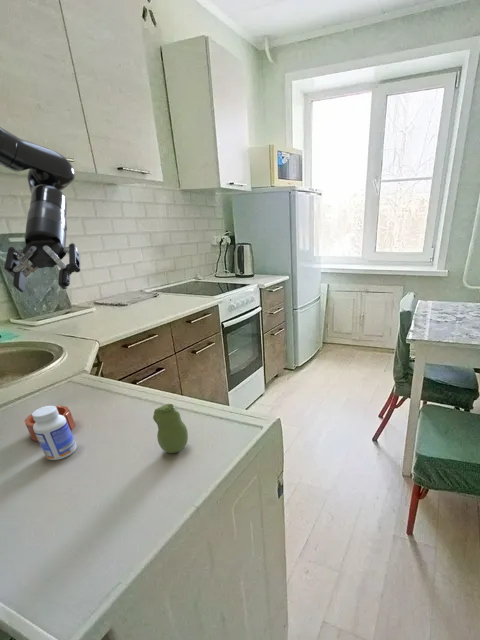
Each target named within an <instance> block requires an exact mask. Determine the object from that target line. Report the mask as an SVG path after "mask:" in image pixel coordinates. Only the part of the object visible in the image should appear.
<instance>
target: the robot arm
mask: <svg viewBox="0 0 480 640" xmlns="http://www.w3.org/2000/svg"><path fill="white" fill-rule="evenodd" d="M0 166H2V167H4V168H6V169H8V170H10V171H12V172H16V173H21V172H24V171H27V170H28V172H27V175H26V177H27V179H26V180H27V183H28V188H29V192H30V200H29V201H30V202H29V209H28V211H27V214H26V215H27V216H26V223H25V224H26V225H25V233H24V241H25V246H24V247H23V248H22V249H15V247H13V246H10V247H9V248H8V249H7V254H6V258H5V263H4V268H3V269H4V270H5V271H6V272H7V273H8V274H10V276H11V277H12V278H13V282H12V285H13V287H14V288H15V289H16V290H17V291H18V292H20V293H25V292H26V286H27V277H28V276H29V275H30V274H31V273H35V272H36V271H37V270H38V269H45V268H55V266H57V267H58V268H59V270H58V281H57V282H58V285H59V287H60V288H61V289H62V290H68V287H69V286H70V284H71V275H72V274H73V273H79V272H81V251H80V250H79V249H78V247H77V246H76V244H75V243H73V242H72V243H69V244H68V246H66V243H67V231H68V224H67V211H68V203H67V197H66V196H65V194H64V193H63V190H65V189H66V188H67V187H68V186H70V185H71V184H72V183H73V182H74V180H75V178H76V171H75V168H74V165H72V163H71V162H70V161H69V160H68V159H67V158H66V157H65V156H64V155H62V154H61V153H59V152H58V151H56V150H53V149H51V148H49V147H45V146H43V145H40V144H37V143H34V142H32V141H29V140H25V139H22V138H19V137H18V136H17V135H15V134H13V133H12V132H10V131H8V130H6V129H5V128H3V127H1V126H0ZM66 255H68V263H67V264H66V263H65V262H64V261H63V259H64V258H65V257H66ZM29 262H30V263H31V264H29Z"/></svg>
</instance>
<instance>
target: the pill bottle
mask: <svg viewBox="0 0 480 640" xmlns="http://www.w3.org/2000/svg"><path fill="white" fill-rule="evenodd" d="M55 406H56V405H45V406H42V407H39V408H37V409H35V410H34V411H33V412H32V413H31V414H32V417H33V419H34V421H35V422H36V423H35V424H34V426H33V429H34V432H35V434H36V436H37V439H38V441H39V442H38V441H37V442H38V443H39V445H40V448H41V450H42V452H43V454H44V456H45V458H46V459H47V460H50V461H58V460H59V461H60V460H63V459H66V458H67V457H69V456H71V455H73V454H74V453H75V451H76V450H77V447H78V446H77V443H76V440H75V438H74V437H73V433H72V430H71V431H70V428H69V426H68V423H67V421H66V418H65V417H64V416H62V415H59V413H58V410H57V408H56V407H55Z"/></svg>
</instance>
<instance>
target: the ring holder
mask: <svg viewBox="0 0 480 640" xmlns="http://www.w3.org/2000/svg"><path fill="white" fill-rule="evenodd" d="M54 406H55V407H56V408H57V410H58V413H59V415H62V416H64V417H65V418H66V421H67V423H68V426H69V428H70V431H71V432H72V431H73V430H74V428H75V427H76V423H75V421H74V418H73V415H72V413H71V410H70V408H69V407H68V406H65V405H54ZM35 423H36V422H35V421H34V419H33V417H32V413H31V414H29V415H28V416H27V417H26V418H25V419H24V424H25V426H26V428H27V431H28V433H29V435H30V437H31V439H32V441H34V442H38V443H39V441H38V439H37V436H36V434H35V432H34V429H33V426H34V424H35Z"/></svg>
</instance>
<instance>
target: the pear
mask: <svg viewBox="0 0 480 640" xmlns="http://www.w3.org/2000/svg"><path fill="white" fill-rule="evenodd" d="M152 419H153V421H154V423H156V427H157V437H156V439H157V442H158V445H159V447H160V448H161V450H162V451H164V452H166V453H169V454H176V453H179V452H181V451H182V450H183V449H185V447H186V446H187V444H188V441H189V440H188V439H189V433H188V429H187V425H186V424H185V422H184V421H183V420H182V418H181V414H180V412H179V411H178V410H177V409H176V407H175V405H174V404H173V403H166V404H164V405H161V406H160V407H158V408H155V409H154V411H153V416H152Z"/></svg>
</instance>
